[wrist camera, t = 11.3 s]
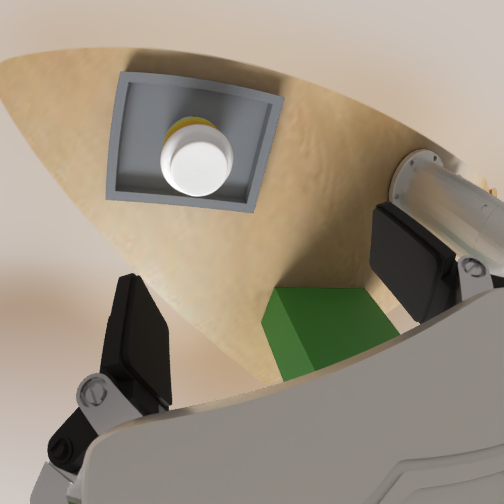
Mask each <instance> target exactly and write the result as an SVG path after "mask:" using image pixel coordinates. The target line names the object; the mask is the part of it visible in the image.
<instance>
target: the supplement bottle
mask: <svg viewBox="0 0 504 504" xmlns="http://www.w3.org/2000/svg"><path fill="white" fill-rule="evenodd" d="M160 164H161V170H162V173H163V175H164V177H165V179H166V181H167V182H168V183H169V184H170V185H171V186H172V187H173V188H175V189H176V190H178V191H180V192H182V193H185V194H188V195H191V196H205V195H208V194H211V193H213V192H214V191H216V190H217V189H218V188H219V187H220V186H221V185H222V184H223V183H224V181H225V180H226V179H227V177H228V176H229V174H230V172H231V169H232V165H233V151H232V147H231V145H230V143H229V141H228V139H227V138H226V137H225V136H224V135H223V134H222V133H221V132H220V131H219V130H218V129H217V128H216V127H215V126H214V125H213V124H212V123H211V122H210V121H208V120H207V119H205V118H202V117H198V116H189V117H185V118H182V119H180V120H178V121H177V122H175V123H174V124H173V125H172V126H171V127H170V128H169V130H168V131H167V133H166V136H165V139H164V143H163V148H162V152H161V159H160Z"/></svg>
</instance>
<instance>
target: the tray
mask: <svg viewBox="0 0 504 504" xmlns="http://www.w3.org/2000/svg"><path fill="white" fill-rule="evenodd" d="M284 98H285V97H281V96H277V95H274V94H270V93H266V92H262V91H258V90H254V89H250V88H245V87H241V86H236V85H231V84H226V83H221V82H216V81H210V80H204V79H197V78H190V77H183V76H175V75H166V74H155V73H141V72H120V76H119V81H118V86H117V91H116V97H115V103H114V109H113V116H112V123H111V132H110V140H109V151H108V163H107V179H106V200H117V201H131V202H144V203H157V204H168V205H180V206H190V207H200V208H210V209H220V210H229V211H238V212H246V213H254V209H255V206H256V202H257V198H258V194H259V190H260V187H261V183H262V179H263V175H264V172H265V168H266V164H267V161H268V157H269V153H270V149H271V146H272V142H273V138H274V135H275V131H276V127H277V123H278V120H279V116H280V112H281V109H282V105H283V102H284ZM189 116H198V117H202V118H205V119H207V120H208V121H210V122H211V123H212V124H213V125H214V126H215V127H216V128H217V129H218V130H219V131H220V132H221V133H222V134H223V135H224V136H225V137H226V138H227V139H228V141H229V143H230V145H231V147H232V151H233V165H232V169H231V172H230V174H229V176H228V177H227V179H226V180H225V181H224V183H223V184H222V185H221V186H220V187H219V188H218V189H217V190H216V191H214V192H213V193H211V194H208V195H205V196H191V195H188V194H185V193H182V192H180V191H178V190H176V189H175V188H173V187H172V186H171V185H170V184H169V183H168V182H167V181H166V179H165V177H164V175H163V173H162V170H161V164H160V159H161V152H162V148H163V143H164V139H165V136H166V133H167V131H168V130H169V128H170V127H171V126H172V125H173V124H174V123H175V122H177V121H178V120H180V119H182V118H185V117H189Z"/></svg>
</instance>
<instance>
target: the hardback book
mask: <svg viewBox="0 0 504 504" xmlns="http://www.w3.org/2000/svg"><path fill="white" fill-rule="evenodd" d="M261 324H262V326H263V329H264V332H265V334H266V337H267V340H268V342H269V345H270V347H271V350H272V352H273V355H274V358H275V360H276V363H277V365H278V368H279V370H280V373H281V376H282V378H283V381H284V382H285V381H288V380H291V379H294V378H297V377H300V376H303V375H306V374H309V373H312V372H314V371H317V370H320V369H322V368H325V367H328V366H330V365H333V364H336V363H338V362H341V361H343V360H346V359H348V358H350V357H353V356H355V355H358V354H360V353H362V352H365V351H367V350H369V349H371V348H374V347H376V346H378V345H380V344H382V343H384V342H387V341H389V340H391V339H393V338H395V337H397V336H399V335H400V333H399V332H398V331H397V329H396V328H395V327H394V325H393V324H392V323H391V321H390V320H389V319H388V318H387V316H386V315H385V314H384V312H383V311H382V310H381V308H380V307H379V306H378V305H377V303H376V302H375V301H374V300H373V298H372V297H371V296H370V295H369V293H368V292H367V291H366V290H365V288H288V287H274V290H273V292H272V295H271V298H270V300H269V303H268V306H267V308H266V311H265V314H264V316H263V319H262V322H261Z"/></svg>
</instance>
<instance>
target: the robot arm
mask: <svg viewBox="0 0 504 504" xmlns="http://www.w3.org/2000/svg"><path fill="white" fill-rule="evenodd" d="M456 254H457V255H458V256H459V257H460V259H459V260H458V262H457V261H456V260H455V257H456ZM370 266H371V269H372V270H373V271H374V272H375V273H376V275H377V276H378V277H379V278H380V279H381V280H382V282H383V283H384V284H385V285H386V286H387V287H388V289H389V290H390V291H391V292H392V293H393V295H394V296H395V297H396V298H397V299H398V301H399V302H400V303H401V304H402V306H403V307H404V308H405V309H406V311H407V312H408V313H409V314H410V316H411V317H412V318H413V319H414V320H415V321H416V322H419V323H420V324H421V325H419V326H417V327H415V328H413V329H411V330H409V331H407V332H405V333H403V334H402V335H399V336H397V337H395V338H393V339H391V340H389V341H387V342H384V343H382V344H380V345H378V346H376V347H374V348H371V349H369V350H367V351H365V352H362V353H360V354H358V355H355V356H353V357H350V358H348V359H346V360H343V361H341V362H338V363H336V364H333V365H330V366H328V367H325V368H322V369H320V370H317V371H314V372H312V373H309V374H306V375H303V376H300V377H297V378H294V379H291V380H288V381H285V382H282V383H279V384H276V385H273V386H269V387H266V388H262V389H259V390H256V391H252V392H248V393H244V394H241V395H237V396H234V397H229V398H225V399H221V400H216V401H212V402H208V403H204V404H199V405H195V406H190V407H185V408H180V409H175V410H170V411H169V405H172V392H171V377H170V355H169V330H168V326H167V323H166V321H165V320H164V318H163V316H162V315H161V313H160V311H159V309H158V308H157V306H156V304H155V302H154V300H153V299H152V297H151V295H150V293H149V292H148V289H147V288H146V286H145V284H144V282H143V280H142V278H141V277H140V276H139V275H138V276H136V275H135V274H133V273H131V274H128V275H125V276H121V277H119V280H118V283H117V288H116V292H115V296H114V301H113V306H112V311H111V316H109V319H108V323H107V329H106V334H105V339H104V345H103V353H102V359H101V365H100V373H95V374H91V375H89V376H88V377H86V378H85V379H84V380H83V381H82V382H81V383H80V385H79V387H78V389H77V394H76V399H77V403H78V405H79V407H78V408H77V409H76V410H75V412H74V413H73V414H72V415H71V416H70V417H69V418H68V419H67V420H66V421H65V423H64V424H63V425H62V426H61V427H60V428H59V429H58V430H57V431H56V432H55V434H54V435H53V436H52V437H51V439H50V440H49V443H48V457H49V459H50V462H49V463H48V462H45V464H44V466H43V468H42V470H41V473H40V475H39V477H38V480H37V482H36V484H35V487H34V489H33V492H32V494H31V498H30V504H504V203H503V202H502V201H501V200H499V199H498V198H496V197H495V196H493V195H491V194H490V193H488V192H487V191H485V190H483V189H482V188H480V187H478V186H476V185H475V184H473V183H471V182H470V181H468V180H466V179H464V178H462V177H461V176H460V175H457V174H455V173H453V172H451V171H449V170H447V169H445V168H444V165H443V162H442V160H441V158H440V157H439V156H438V155H437V154H436V153H434V152H432V151H430V150H428V149H418V150H415V151H413V152H411V153H410V154H409V155H407V156H406V157H405V158H404V159H403V160H402V162H401V163H400V164H399V166H398V167H397V169H396V171H395V173H394V175H393V178H392V181H391V185H390V189H389V202H385V203H381V204H378V205H377V206H376V208H375V209H374V210H373V222H372V238H371V250H370Z"/></svg>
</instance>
